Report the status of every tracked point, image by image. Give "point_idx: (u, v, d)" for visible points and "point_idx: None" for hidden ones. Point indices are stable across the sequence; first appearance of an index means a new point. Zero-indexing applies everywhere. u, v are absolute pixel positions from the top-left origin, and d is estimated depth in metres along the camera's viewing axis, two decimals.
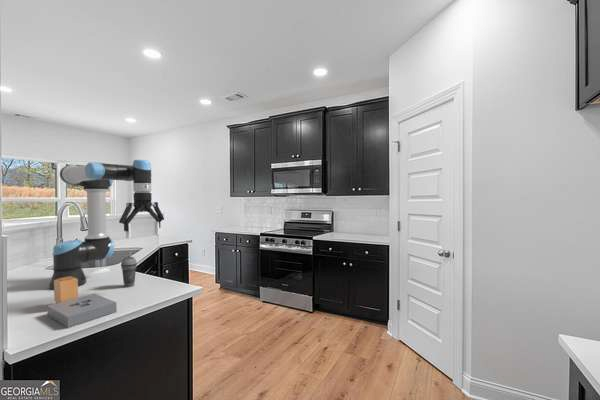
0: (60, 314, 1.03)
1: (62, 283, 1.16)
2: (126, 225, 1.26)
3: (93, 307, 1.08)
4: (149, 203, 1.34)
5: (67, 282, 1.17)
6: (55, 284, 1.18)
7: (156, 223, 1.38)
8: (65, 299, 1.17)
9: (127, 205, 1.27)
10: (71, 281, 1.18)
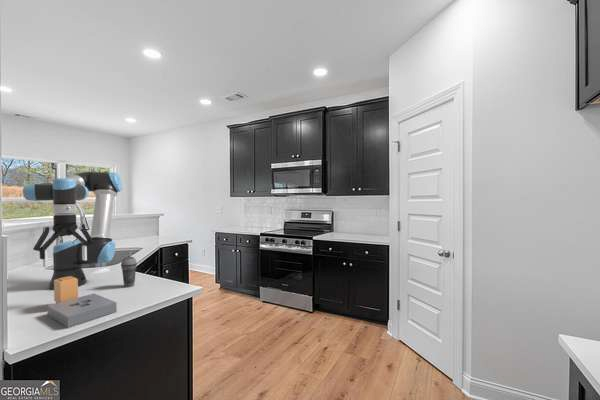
0: (60, 314, 1.03)
1: (62, 283, 1.16)
2: (42, 252, 1.12)
3: (93, 307, 1.08)
4: (73, 226, 1.21)
5: (67, 282, 1.17)
6: (55, 284, 1.18)
7: (83, 247, 1.25)
8: (65, 299, 1.17)
9: (44, 230, 1.13)
10: (71, 281, 1.18)
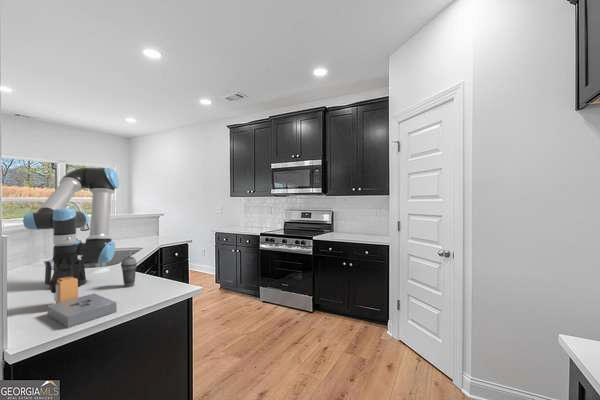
0: (60, 314, 1.03)
1: (62, 283, 1.16)
2: (53, 286, 1.15)
3: (93, 307, 1.08)
4: (74, 255, 1.21)
5: (67, 282, 1.17)
6: None
7: None
8: (65, 299, 1.17)
9: (45, 264, 1.14)
10: (71, 281, 1.18)
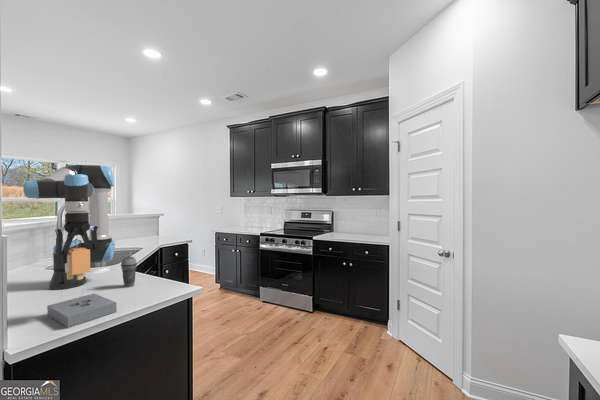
0: (60, 314, 1.03)
1: (74, 253, 1.08)
2: (64, 256, 1.07)
3: (93, 307, 1.08)
4: (86, 224, 1.13)
5: (79, 252, 1.09)
6: None
7: None
8: (77, 270, 1.09)
9: (56, 232, 1.06)
10: (83, 251, 1.10)
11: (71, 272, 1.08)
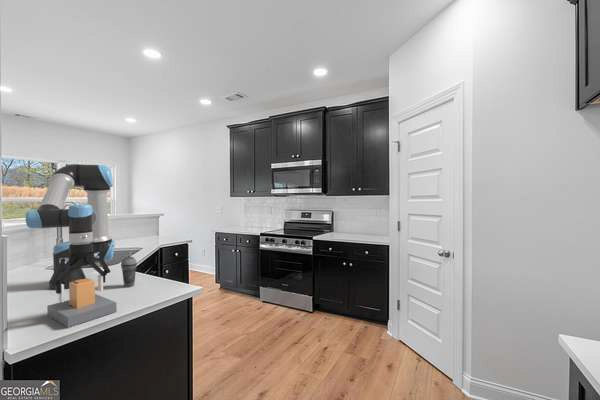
0: (60, 314, 1.03)
1: (78, 286, 1.07)
2: (58, 286, 1.04)
3: (93, 307, 1.08)
4: (90, 255, 1.13)
5: (84, 285, 1.09)
6: (71, 287, 1.10)
7: (99, 278, 1.16)
8: (81, 303, 1.08)
9: (59, 261, 1.05)
10: (88, 284, 1.10)
11: (76, 305, 1.07)
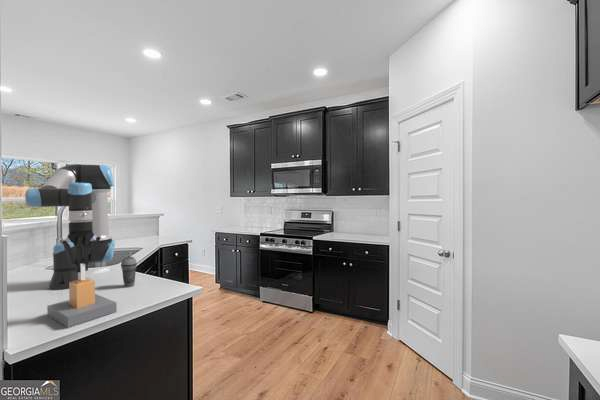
0: (60, 314, 1.03)
1: (78, 286, 1.07)
2: (77, 265, 1.09)
3: (93, 307, 1.08)
4: (90, 233, 1.13)
5: (84, 285, 1.09)
6: (71, 287, 1.10)
7: None
8: (81, 303, 1.08)
9: (62, 244, 1.06)
10: (88, 284, 1.10)
11: (76, 305, 1.07)
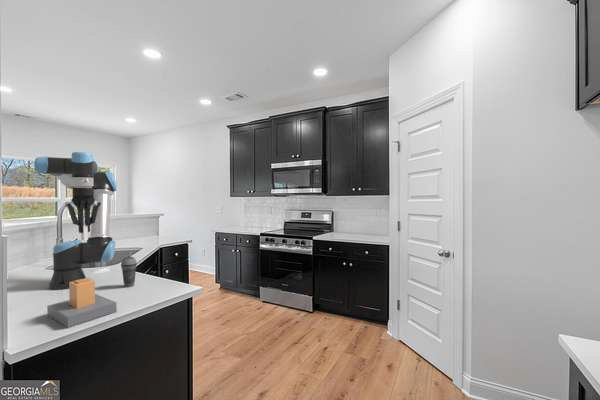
0: (60, 314, 1.03)
1: (78, 286, 1.07)
2: (81, 226, 1.22)
3: (93, 307, 1.08)
4: (92, 198, 1.25)
5: (84, 285, 1.09)
6: (71, 287, 1.10)
7: None
8: (81, 303, 1.08)
9: (67, 206, 1.18)
10: (88, 284, 1.10)
11: (76, 305, 1.07)
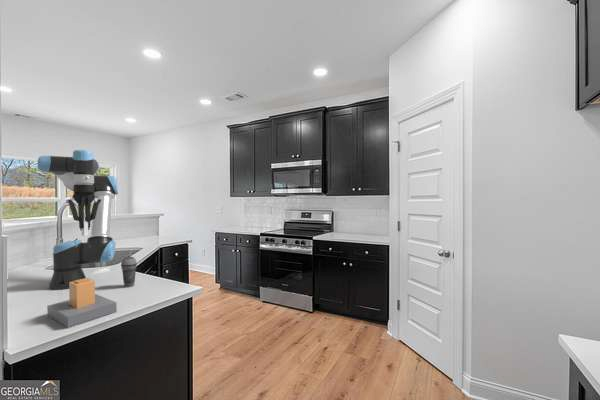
0: (60, 314, 1.03)
1: (78, 286, 1.07)
2: (81, 222, 1.25)
3: (93, 307, 1.08)
4: (92, 195, 1.29)
5: (84, 285, 1.09)
6: (71, 287, 1.10)
7: None
8: (81, 303, 1.08)
9: (68, 203, 1.22)
10: (88, 284, 1.10)
11: (76, 305, 1.07)
